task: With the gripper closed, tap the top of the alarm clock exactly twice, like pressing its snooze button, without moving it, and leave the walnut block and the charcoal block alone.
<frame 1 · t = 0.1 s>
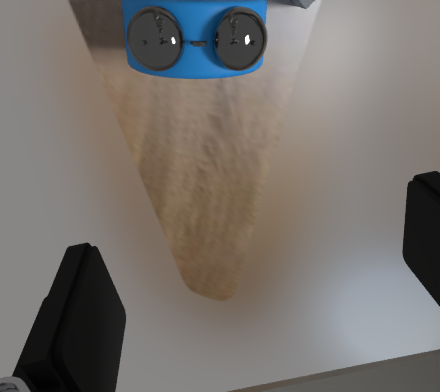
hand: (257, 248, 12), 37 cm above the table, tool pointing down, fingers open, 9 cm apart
alarm clock: (193, 22, 43), on the table
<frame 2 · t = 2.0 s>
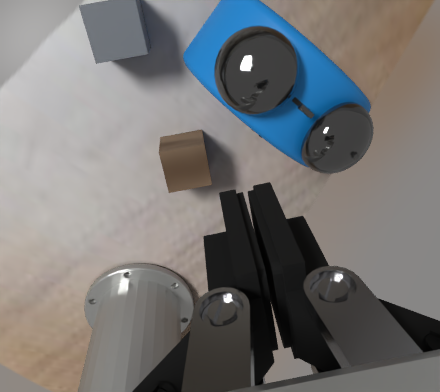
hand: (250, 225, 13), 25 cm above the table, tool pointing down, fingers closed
alarm clock: (257, 66, 35), on the table
walnut block: (185, 152, 38), on the table
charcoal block: (121, 26, 32), on the table
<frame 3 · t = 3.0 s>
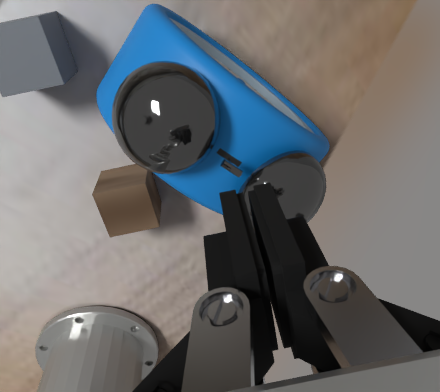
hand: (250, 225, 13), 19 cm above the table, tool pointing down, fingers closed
alarm clock: (208, 87, 30), on the table
walnut block: (132, 186, 33), on the table
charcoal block: (39, 47, 27), on the table
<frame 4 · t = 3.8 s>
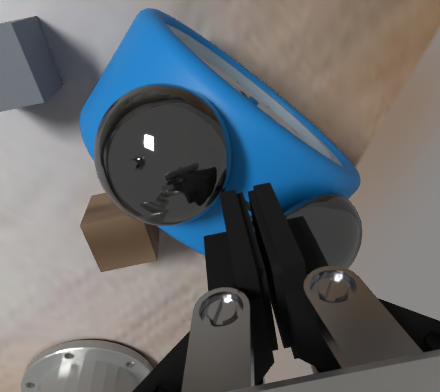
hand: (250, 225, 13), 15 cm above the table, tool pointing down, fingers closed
alarm clock: (212, 102, 26), on the table, touching gripper
walnut block: (126, 212, 29), on the table
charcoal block: (18, 58, 23), on the table
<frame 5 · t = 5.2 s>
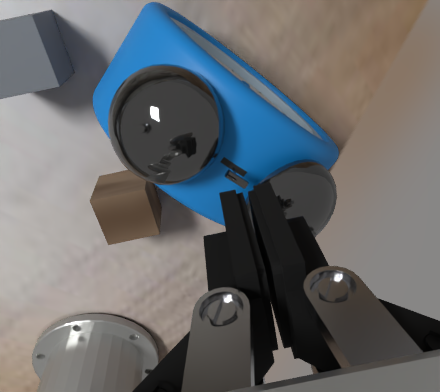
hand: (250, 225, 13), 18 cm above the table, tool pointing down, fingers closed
alarm clock: (210, 89, 28), on the table
walnut block: (131, 191, 32), on the table
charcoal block: (34, 48, 26), on the table
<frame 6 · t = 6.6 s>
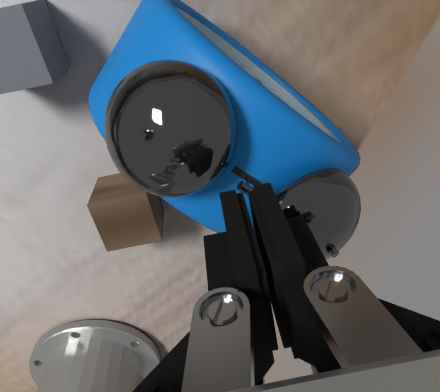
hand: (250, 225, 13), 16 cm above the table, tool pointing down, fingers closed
alarm clock: (216, 86, 26), on the table
walnut block: (132, 194, 30), on the table
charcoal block: (27, 40, 24), on the table
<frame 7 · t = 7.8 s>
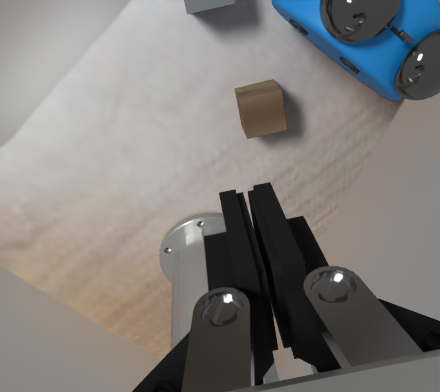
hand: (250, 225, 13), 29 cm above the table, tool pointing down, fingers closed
alarm clock: (328, 13, 37), on the table
walnut block: (256, 102, 40), on the table
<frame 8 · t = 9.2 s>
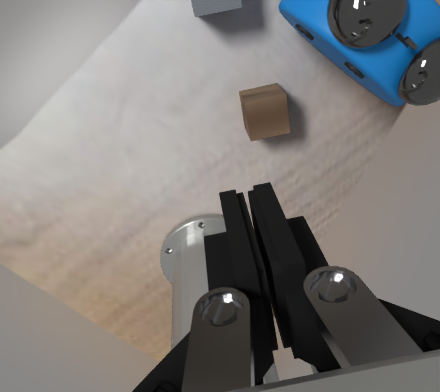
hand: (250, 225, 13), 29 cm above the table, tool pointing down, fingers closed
alarm clock: (332, 20, 37), on the table
walnut block: (260, 105, 41), on the table
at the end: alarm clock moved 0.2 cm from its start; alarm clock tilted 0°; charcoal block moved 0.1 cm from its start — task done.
